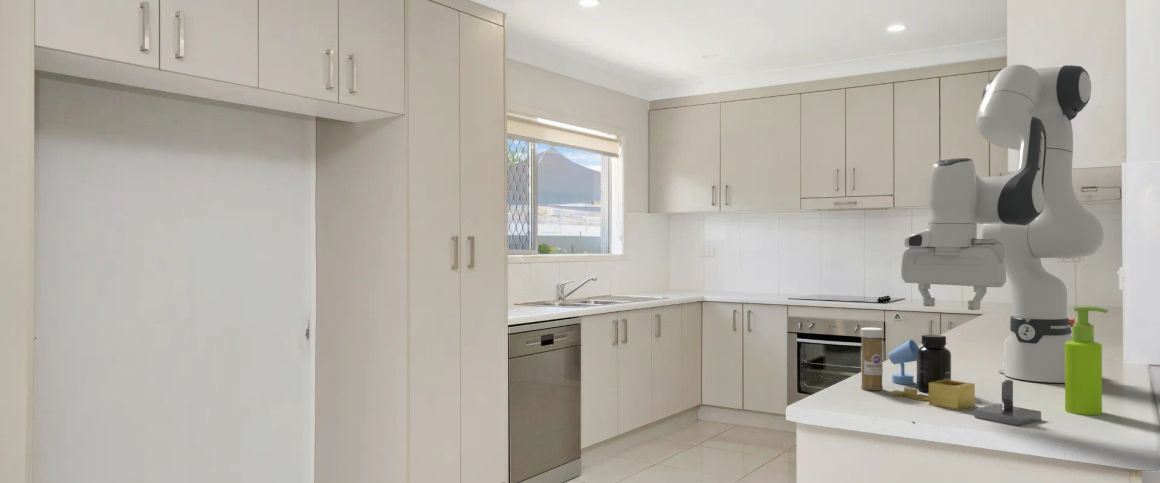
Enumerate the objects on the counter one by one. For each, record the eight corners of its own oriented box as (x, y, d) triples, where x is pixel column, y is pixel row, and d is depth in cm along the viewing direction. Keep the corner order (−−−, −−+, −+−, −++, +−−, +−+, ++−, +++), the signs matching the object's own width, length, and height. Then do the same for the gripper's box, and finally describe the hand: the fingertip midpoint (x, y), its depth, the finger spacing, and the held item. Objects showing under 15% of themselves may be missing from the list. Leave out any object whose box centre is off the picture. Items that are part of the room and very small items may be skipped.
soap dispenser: (1109, 417, 142) (1109, 309, 142) (1065, 413, 146) (1064, 307, 145) (1107, 410, 147) (1107, 306, 147) (1065, 406, 151) (1064, 305, 150)
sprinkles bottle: (871, 391, 166) (871, 329, 166) (856, 388, 171) (856, 327, 171) (887, 389, 168) (887, 328, 168) (872, 386, 172) (872, 326, 172)
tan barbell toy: (896, 393, 164) (896, 385, 164) (930, 399, 158) (930, 391, 158) (889, 394, 163) (889, 386, 163) (923, 401, 157) (923, 392, 157)
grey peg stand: (997, 411, 147) (997, 374, 147) (1041, 419, 141) (1040, 381, 141) (974, 417, 143) (974, 379, 143) (1018, 426, 136) (1018, 386, 136)
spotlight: (924, 382, 176) (893, 379, 180) (923, 339, 175) (893, 336, 180) (916, 386, 172) (885, 382, 177) (916, 341, 172) (885, 339, 177)
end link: (945, 400, 157) (945, 379, 157) (974, 405, 152) (974, 383, 152) (928, 404, 154) (928, 382, 154) (957, 410, 149) (957, 387, 149)
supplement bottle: (955, 394, 163) (954, 338, 163) (920, 393, 164) (920, 337, 164) (946, 388, 170) (946, 333, 169) (913, 387, 171) (913, 333, 171)
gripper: (1013, 239, 147) (1012, 311, 146) (915, 239, 164) (914, 304, 164) (995, 238, 143) (994, 312, 143) (897, 238, 160) (896, 304, 160)
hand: (951, 308), depth 153 cm, fingers open, 8 cm apart
